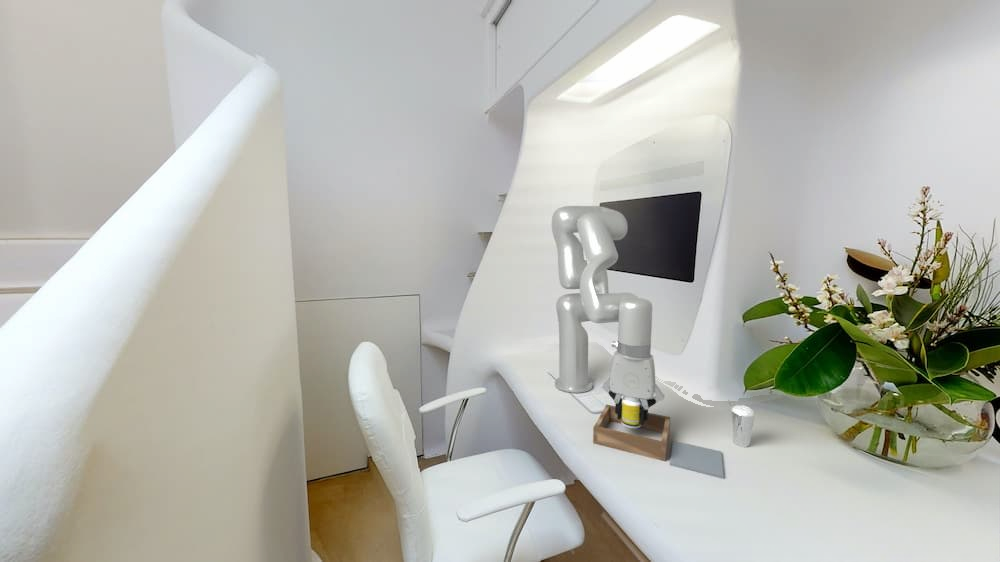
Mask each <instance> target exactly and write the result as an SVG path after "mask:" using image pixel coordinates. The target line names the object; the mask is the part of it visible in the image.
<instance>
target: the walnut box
mask: <svg viewBox="0 0 1000 562" xmlns="http://www.w3.org/2000/svg"><path fill="white" fill-rule="evenodd" d="M609 422H614V423H617V424H622V423H621V419H617V414H615V405H611V404H606V405H605V406H604V408H603V410H602V411H601V413H600V414H599V417H598V419H597V420H596V422H595V424H594V426H593V428H592V429H593V431H592V432H593V437H592V439H593V440H592V442H593V444H596V445H600V446H604V447H608V448H611V449H614V450H618V451H623V452H627V453H632V454H634V455H635V454H636V455H639V456H641V457H642V456H643V457H647V458H651V459H655V460H659V461H663V462H666V459H667V453H668V445H669V441H670V436H671V435H670V433H671V416H669V415H668V416H667V415H661V414H658V413H657V414H656V413H652V412H648V419H647V420H645V421H644V424H643V425H642V424H641V426H640V427H639V429H641V428H642V429H645V430H650V431H655V432H660V433H662V436H661V440H659V439H655V438H651V437H646V436H641V435H636V434H632V433H628V432H625V431H624V432H622V431H621V430H620V431H619V430H615V429H610V428H607V426H608V424H609Z"/></svg>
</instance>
